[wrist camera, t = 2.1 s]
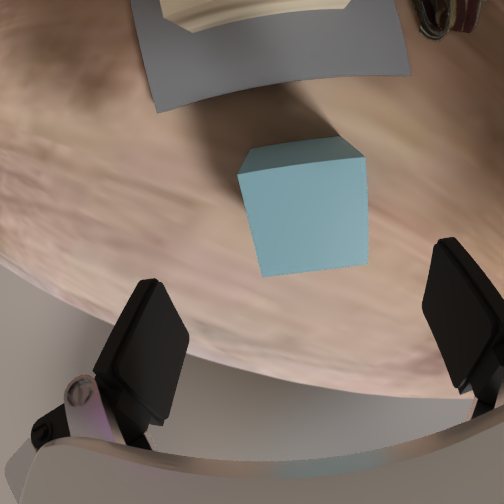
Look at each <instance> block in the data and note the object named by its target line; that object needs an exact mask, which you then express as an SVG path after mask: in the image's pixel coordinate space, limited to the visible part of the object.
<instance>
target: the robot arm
mask: <svg viewBox="0 0 504 504" xmlns="http://www.w3.org/2000/svg"><path fill="white" fill-rule="evenodd" d="M422 310H423V313H424V316H425V318H426V320H427V322H428V324H429V326H430V329H431V331H432V333H433V335H434V338H435V340H436V342H437V345H438V347H439V350H440V352H441V354H442V357H443V359H444V362H445V365H446V367H447V370H448V372H449V375H450V378H451V381H452V384H453V386H454V387H455V388H458V390H459V393H460V395H461V394H464V393H466V392H469V391H471V390H473V392H474V395H475V397H474V400H473V403H472V406H471V408H470V411H469V414H468V416H467V419H466V422H464V423H461V424H459V425H456V426H454V427H451V428H449V429H446V430H443V431H441V432H437V433H435V434H432V435H429V436H425V437H422V438H419V439H416V440H412V441H409V442H405V443H402V444H398V445H394V446H390V447H385V448H381V449H376V450H372V451H366V452H361V453H355V454H350V455H344V456H337V457H328V458H319V459H309V460H296V461H262V462H261V461H228V460H215V459H204V458H195V457H187V456H180V455H173V454H167V453H161V452H159V451H158V449H157V447H156V446H155V443H154V442H153V440H152V438H151V436H150V434H149V432H148V430H147V428H148V425H149V424H152V425H158V426H163V424H164V420H165V419H167V418H168V417H169V413H170V409H171V406H172V402H173V398H174V395H175V391H176V387H177V383H178V379H179V376H180V372H181V369H182V365H183V361H184V358H185V354H186V351H187V347H188V344H189V333H188V331H187V329H186V327H185V326H184V324H183V322H182V320H181V318H180V316H179V314H178V312H177V311H176V309H175V307H174V305H173V303H172V301H171V299H170V297H169V295H168V293H167V291H166V289H165V287H164V285H163V283H161V282H159V281H158V280H157V279H155V278H154V279H145V280H140V281H139V283H138V284H137V286H136V288H135V290H134V291H133V293H132V295H131V297H130V298H129V300H128V302H127V304H126V306H125V307H124V309H123V311H122V313H121V315H120V317H119V319H118V320H117V322H116V324H115V326H114V328H113V330H112V332H111V334H110V336H109V338H108V340H107V342H106V344H105V346H104V348H103V350H102V352H101V354H100V356H99V358H98V360H97V362H96V364H95V366H94V369H93V372H94V373H95V374H96V376H95V378H93V377H92V376H90V375H80V376H78V377H76V378H75V379H74V380H72V381H71V382H70V383H69V384H68V386H67V388H66V390H65V393H64V404H62V405H60V406H59V407H57V408H56V409H54V410H52V411H51V412H49V413H48V414H46V415H44V416H43V417H41V418H40V419H38V420H37V421H36V422H35V424H34V425H33V427H32V431H31V439H30V438H28V439H27V440H26V441H25V443H24V444H23V445H22V446H21V447H20V448H19V449H18V450H17V452H16V453H15V454H14V455H13V456H12V457H11V458H10V459H9V460H8V462H7V464H6V466H5V476H6V479H7V482H8V484H9V486H10V488H11V490H12V492H13V494H14V497H15V499H16V500H17V503H18V504H504V299H503V298H502V297H501V295H500V294H499V292H498V291H497V289H496V288H495V287H494V285H493V284H492V283H491V281H490V280H489V279H488V277H487V276H486V275H485V273H484V272H483V271H482V269H481V268H480V267H479V266H478V264H477V263H476V262H475V261H474V259H473V258H472V257H471V256H470V254H469V253H468V252H467V251H466V250H465V249H464V247H463V246H462V245H461V244H460V243H459V242H458V240H457V239H456V238H454V237H449V238H443V239H439V240H438V242H437V244H435V245H434V248H433V253H432V259H431V264H430V270H429V275H428V280H427V284H426V289H425V293H424V297H423V301H422Z"/></svg>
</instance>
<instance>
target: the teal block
mask: <svg viewBox="0 0 504 504" xmlns="http://www.w3.org/2000/svg"><path fill="white" fill-rule="evenodd" d="M237 176H238V180H239V184H240V188H241V193H242V197H243V201H244V205H245V209H246V213H247V217H248V221H249V225H250V229H251V233H252V237H253V241H254V245H255V250H256V254H257V258H258V262H259V266H260V270H261V274H262V277H268V276H277V275H285V274H294V273H302V272H311V271H319V270H327V269H335V268H342V267H350V266H357V265H365V264H368V192H367V174H366V161H365V156H363V155H362V154H361V153H360V152H359V151H358V150H357V149H355V148H354V147H353V146H352V145H351V144H350V143H348V142H347V141H346V140H345V139H343V138H342V137H341V136H335V137H326V138H317V139H309V140H301V141H294V142H287V143H281V144H275V145H269V146H263V147H257V148H252V149H250V151H249V153H248V155H247V156H246V158H245V160H244V162H243V164H242V166H241V168H240V170H239V172H238V174H237Z"/></svg>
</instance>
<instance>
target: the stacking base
mask: <svg viewBox="0 0 504 504" xmlns="http://www.w3.org/2000/svg"><path fill="white" fill-rule="evenodd" d="M130 2H131V7H132V12H133V17H134V22H135V27H136V31H137V36H138V40H139V44H140V49H141V53H142V57H143V61H144V66H145V70H146V74H147V78H148V81H149V85H150V89H151V93H152V97H153V100H154V104H155V108H156V111H157V114H158V113H162V112H166V111H169V110H172V109H175V108H178V107H181V106H184V105H188V104H191V103H194V102H198V101H202V100H205V99H209V98H213V97H217V96H221V95H225V94H229V93H233V92H238V91H242V90H247V89H252V88H257V87H262V86H268V85H274V84H280V83H287V82H294V81H302V80H310V79H320V78H332V77H348V76H411V70H410V64H409V59H408V54H407V49H406V44H405V40H404V36H403V31H402V27H401V24H400V20H399V16H398V13H397V9H396V6H395V3H394V0H130Z"/></svg>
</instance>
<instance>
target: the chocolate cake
mask: <svg viewBox="0 0 504 504" xmlns="http://www.w3.org/2000/svg"><path fill="white" fill-rule="evenodd" d="M482 1H484V2H487V0H413V3H414V5H415V10H416V11H417V15H418V17H419V18H420V23H421V25H420V33H421V34H422V35H423V36H424V38H428V39H431V40H432V41H440V40H441V39H442V38H444V37H445V36H446V35H447V33H448V31H449V28H451V29H452V30H455V31H460V32H461V31H464V32H467V33H469V32H471V31H472V30H473V29H475V28H476V25H477V23H478V19H479V15H480V7H481V2H482ZM418 3H419V4H418ZM421 19H422V21H421Z"/></svg>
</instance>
